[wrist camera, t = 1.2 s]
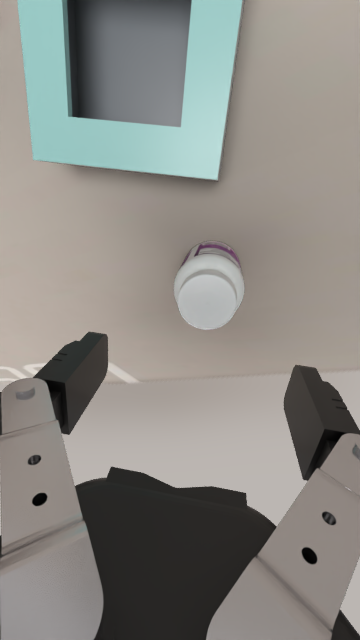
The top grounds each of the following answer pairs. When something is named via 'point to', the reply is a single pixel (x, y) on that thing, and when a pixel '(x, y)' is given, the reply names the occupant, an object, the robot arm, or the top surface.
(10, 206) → the top surface
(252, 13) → the top surface
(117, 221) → the top surface
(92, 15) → the bin
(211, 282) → the pill bottle
